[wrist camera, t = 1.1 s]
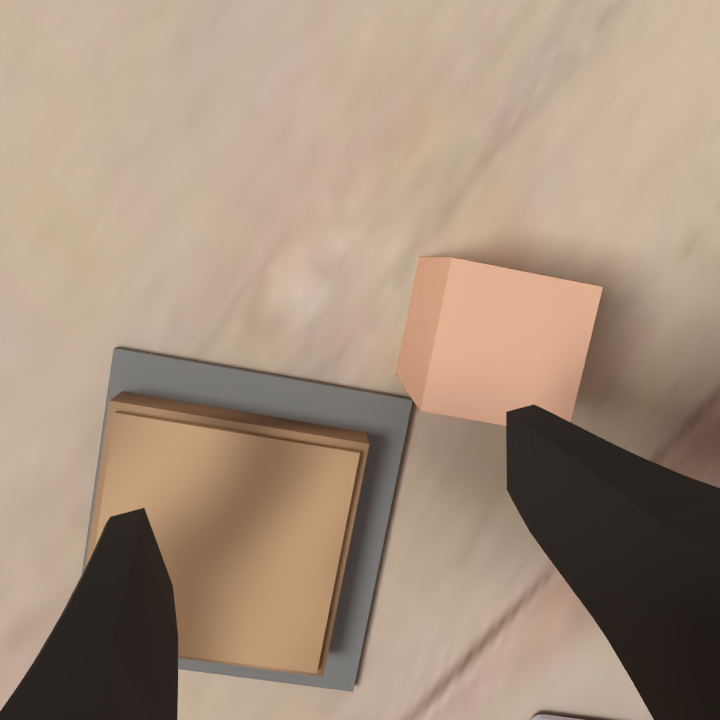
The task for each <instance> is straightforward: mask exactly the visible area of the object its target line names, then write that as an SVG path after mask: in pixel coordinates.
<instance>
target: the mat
mask: <svg viewBox="0 0 720 720" xmlns="http://www.w3.org/2000/svg"><path fill="white" fill-rule="evenodd" d="M122 391H123V392H129V393H135V394H141V395H147V396H153V397H159V398H165V399H171V400H177V401H183V402H189V403H195V404H201V405H207V406H212V407H218V408H224V409H230V410H236V411H242V412H248V413H254V414H260V415H266V416H272V417H278V418H284V419H290V420H296V421H302V422H308V423H314V424H320V425H325V426H331V427H337V428H343V429H349V430H355V431H361V432H366V434H367V438H368V441H369V449H368V454H367V459H366V464H365V469H364V474H363V479H362V484H361V489H360V494H359V499H358V504H357V509H356V514H355V520H354V525H353V530H352V535H351V540H350V545H349V550H348V555H347V560H346V565H345V570H344V575H343V580H342V585H341V590H340V595H339V600H338V606H337V611H336V616H335V621H334V626H333V631H332V636H331V641H330V646H329V651H328V656H327V661H326V666H325V671H324V676H323V677H319V676H311V675H304V674H296V673H289V672H281V671H274V670H266V669H258V668H251V667H243V666H236V665H228V664H221V663H213V662H205V661H198V660H190V659H183V658H178V669H183V670H190V671H198V672H206V673H213V674H221V675H229V676H236V677H244V678H252V679H259V680H267V681H275V682H282V683H290V684H298V685H305V686H313V687H321V688H328V689H336V690H344V691H351V692H353V690H354V685H355V680H356V675H357V670H358V665H359V660H360V655H361V651H362V646H363V641H364V636H365V631H366V626H367V621H368V616H369V612H370V607H371V602H372V597H373V592H374V587H375V582H376V577H377V572H378V568H379V563H380V558H381V553H382V548H383V543H384V538H385V533H386V529H387V524H388V519H389V514H390V509H391V504H392V499H393V494H394V489H395V485H396V480H397V475H398V470H399V465H400V460H401V455H402V450H403V446H404V441H405V436H406V431H407V426H408V421H409V416H410V411H411V406H412V402H413V400H412V399H411V398H407V397H401V396H396V395H390V394H384V393H379V392H373V391H367V390H361V389H356V388H350V387H344V386H338V385H333V384H327V383H321V382H315V381H310V380H304V379H298V378H292V377H287V376H281V375H275V374H269V373H264V372H258V371H252V370H247V369H241V368H235V367H229V366H224V365H218V364H212V363H206V362H201V361H195V360H189V359H183V358H178V357H172V356H166V355H160V354H155V353H149V352H143V351H137V350H132V349H126V348H120V347H116V348H114V351H113V358H112V365H111V372H110V379H109V386H108V393H107V400H106V407H105V414H104V421H103V429H102V436H101V443H100V450H99V457H98V464H97V471H96V478H95V485H94V492H93V499H92V506H91V513H90V521H89V528H88V535H87V542H86V549H85V556H84V563H83V570H82V574H83V572H84V570H85V568H86V560H87V553H88V546H89V539H90V532H91V525H92V518H93V511H94V504H95V497H96V490H97V483H98V476H99V469H100V462H101V455H102V448H103V441H104V434H105V427H106V420H107V412H108V405H109V400H111V399H112V398H114V397H115V396H116V395H118V394H119V393H120V392H122Z"/></svg>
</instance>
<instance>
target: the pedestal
mask: <svg viewBox="0 0 720 720" xmlns="http://www.w3.org/2000/svg"><path fill="white" fill-rule="evenodd" d="M368 449H369V441H368V438H367V434H366V432H361V431H355V430H349V429H343V428H337V427H331V426H325V425H320V424H314V423H308V422H302V421H296V420H290V419H284V418H278V417H272V416H266V415H260V414H254V413H248V412H242V411H236V410H230V409H224V408H218V407H212V406H207V405H201V404H195V403H189V402H183V401H177V400H171V399H165V398H159V397H153V396H147V395H141V394H135V393H129V392H123V391H122V392H120V393H119V394H118V395H116V396H115V397H114V398H112V399H111V400H109V405H108V412H107V420H106V427H105V434H104V441H103V448H102V455H101V462H100V469H99V476H98V483H97V490H96V497H95V504H94V511H93V518H92V525H91V532H90V539H89V546H88V553H87V560H86V566H87V564H88V562H89V560H90V558H91V555H92V553H93V551H94V549H95V547H96V545H97V542H98V540H99V538H100V536H101V533H102V531H103V529H104V526H105V524H106V522H107V521H108V520H109V518H110V517H111V516H115V515H119V514H122V513H126V512H130V511H134V510H138V509H141V508H145V511H146V514H147V517H148V519H149V522H150V525H151V527H152V530H153V533H154V536H155V538H156V541H157V544H158V547H159V549H160V552H161V555H162V558H163V560H164V563H165V566H166V568H167V571H168V574H169V577H170V579H171V582H172V585H173V592H174V601H175V609H176V619H177V629H178V658H183V659H190V660H198V661H205V662H213V663H221V664H228V665H236V666H243V667H251V668H258V669H266V670H274V671H281V672H289V673H296V674H304V675H311V676H319V677H323V676H324V671H325V666H326V661H327V656H328V651H329V646H330V641H331V636H332V631H333V626H334V621H335V616H336V611H337V606H338V600H339V595H340V590H341V585H342V580H343V575H344V570H345V565H346V560H347V555H348V550H349V545H350V540H351V535H352V530H353V525H354V520H355V514H356V509H357V504H358V499H359V494H360V489H361V484H362V479H363V474H364V469H365V464H366V459H367V454H368Z"/></svg>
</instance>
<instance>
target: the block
mask: <svg viewBox="0 0 720 720" xmlns="http://www.w3.org/2000/svg"><path fill="white" fill-rule="evenodd" d="M602 289H603V287H600V286H595V285H590V284H585V283H580V282H575V281H570V280H565V279H559V278H554V277H549V276H544V275H539V274H534V273H529V272H524V271H519V270H513V269H508V268H503V267H498V266H493V265H488V264H483V263H478V262H473V261H467V260H462V259H457V258H452V257H419V261H418V266H417V271H416V276H415V281H414V286H413V291H412V296H411V301H410V306H409V311H408V316H407V321H406V326H405V331H404V336H403V341H402V346H401V351H400V356H399V361H398V366H397V371H396V377H397V378H398V380H399V381H400V382H401V384H402V385H403V387H404V388H405V390H406V391H407V393H408V394H409V395H410V397H411V398H412V400H413V401H414V403H415V404H416V406H417V407H418V409H419V410H420V411H423V412H428V413H434V414H440V415H446V416H452V417H457V418H463V419H469V420H475V421H481V422H486V423H492V424H498V425H504V426H506V412H507V411H511V410H515V409H518V408H522V407H526V406H530V405H533V404H534V405H536V406H539V407H541V408H543V409H545V410H547V411H549V412H551V413H553V414H555V415H557V416H559V417H561V418H563V419H565V420H567V421H569V422H571V419H572V415H573V410H574V406H575V402H576V398H577V394H578V390H579V385H580V381H581V377H582V373H583V369H584V364H585V360H586V356H587V352H588V348H589V343H590V339H591V335H592V331H593V327H594V322H595V318H596V314H597V310H598V306H599V301H600V297H601V293H602Z"/></svg>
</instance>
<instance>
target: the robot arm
mask: <svg viewBox="0 0 720 720" xmlns="http://www.w3.org/2000/svg"><path fill="white" fill-rule="evenodd" d="M506 437H507V490H508V492H509V494H510V496H511V498H512V500H513V502H514V504H515V506H516V508H517V509H518V511H519V513H520V515H521V517H522V518H523V520H524V522H525V524H526V526H527V527H528V529H529V531H530V532H531V534H532V535H533V537H534V538H535V539H536V541H537V542H538V544H539V545H540V546H541V548H542V549H543V550H544V552H545V553H546V555H547V556H548V557H549V559H550V560H551V561H552V563H553V564H554V566H555V567H556V568H557V570H558V571H559V572H560V574H561V575H562V576H563V578H564V579H565V580H566V582H567V583H568V584H569V586H570V587H571V589H572V590H573V591H574V593H575V594H576V595H577V597H578V598H579V599H580V601H581V602H582V603H583V605H584V606H585V607H586V609H587V610H588V612H589V613H590V614H591V616H592V617H593V618H594V620H595V621H596V623H597V624H598V626H599V627H600V629H601V630H602V632H603V633H604V635H605V636H606V638H607V639H608V641H609V643H610V644H611V646H612V648H613V649H614V651H615V653H616V654H617V656H618V658H619V659H620V661H621V663H622V665H623V666H624V668H625V670H626V671H627V673H628V675H629V676H630V678H631V680H632V681H633V683H634V685H635V687H636V688H637V690H638V692H639V694H640V696H641V697H642V699H643V701H644V703H645V705H646V706H647V708H648V710H649V712H650V713H651V715H652V717H653V719H654V720H720V488H717V487H715V486H712V485H709V484H706V483H703V482H700V481H697V480H695V479H692V478H689V477H687V476H684V475H682V474H679V473H677V472H674V471H672V470H669V469H667V468H665V467H662V466H660V465H658V464H655V463H653V462H651V461H648V460H646V459H644V458H642V457H639V456H637V455H635V454H633V453H631V452H629V451H627V450H624V449H622V448H620V447H618V446H616V445H614V444H612V443H610V442H608V441H606V440H604V439H602V438H600V437H598V436H596V435H594V434H592V433H590V432H588V431H586V430H584V429H582V428H580V427H578V426H576V425H574V424H573V423H571V422H569V421H567V420H565V419H563V418H561V417H559V416H557V415H555V414H553V413H551V412H549V411H547V410H545V409H543V408H541V407H539V406H536V405H534V404H533V405H530V406H526V407H522V408H518V409H515V410H511V411H507V412H506ZM177 700H178V629H177V619H176V609H175V601H174V592H173V585H172V582H171V579H170V577H169V574H168V571H167V568H166V566H165V563H164V560H163V558H162V555H161V552H160V549H159V547H158V544H157V541H156V538H155V536H154V533H153V530H152V527H151V525H150V522H149V519H148V517H147V514H146V511H145V508H141V509H138V510H134V511H130V512H126V513H122V514H119V515H115V516H111V517H110V518H109V520H108V521H107V522H106V524H105V526H104V529H103V531H102V533H101V536H100V538H99V540H98V542H97V545H96V547H95V549H94V551H93V553H92V555H91V558H90V560H89V562H88V564H87V566H86V568H85V570H84V572H83V574H82V576H81V578H80V580H79V582H78V584H77V586H76V588H75V590H74V592H73V594H72V596H71V598H70V600H69V601H68V603H67V605H66V607H65V609H64V611H63V613H62V615H61V616H60V618H59V620H58V622H57V623H56V625H55V627H54V629H53V630H52V632H51V634H50V635H49V637H48V639H47V640H46V642H45V644H44V646H43V647H42V649H41V651H40V652H39V654H38V656H37V657H36V659H35V661H34V662H33V664H32V665H31V667H30V668H29V670H28V672H27V673H26V675H25V676H24V678H23V679H22V681H21V682H20V684H19V685H18V687H17V688H16V690H15V691H14V693H13V694H12V695H11V697H10V698H9V700H8V701H7V703H6V704H5V705H4V707H3V708H2V710H1V711H0V720H177ZM532 720H583V719H576V718H568V717H560V716H553V715H545V714H541V715H537V716H535V717H534V718H533V719H532Z"/></svg>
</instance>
